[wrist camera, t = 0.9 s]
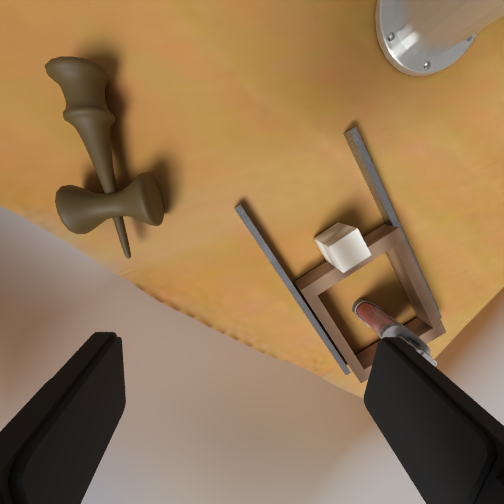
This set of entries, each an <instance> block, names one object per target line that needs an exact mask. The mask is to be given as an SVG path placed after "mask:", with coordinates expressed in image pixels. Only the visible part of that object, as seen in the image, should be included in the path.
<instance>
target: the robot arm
mask: <svg viewBox="0 0 504 504" xmlns="http://www.w3.org/2000/svg"><path fill="white" fill-rule="evenodd" d="M503 16H504V0H377V4H376V11H375V26H376V32H377V38H378V41H379V44H380V47H381V49H382V51H383V53H384V55H385V57H386V58H387V60H388V61H389V62H390V63H391V64H392V65H393V66H394V67H395V68H396V69H398V70H399V71H400V72H403V73H405V74H407V75H411V76H417V77H419V76H428V75H431V74H435V73H437V72H439V71H441V70H443V69H445V68H447V67H448V66H450V65H451V64H453V63H454V62H456V61H457V60H458V59H459V58H460V57H461V56H462V55H463V54H464V53H465V51H466V50H467V49H468V47H469V46H470V45H471V43H472V41H473V40H474V38H475V36H476V34H477V32H479V31H480V30H482V29H483V28H485V27H487V26H488V25H490V24H491V23H493V22H495V21H496V20H498V19H499V18H501V17H503ZM125 403H126V398H125V382H124V367H123V352H122V339H121V337H117V335H116V333H114V332H95V333H94V334H93V335H92V336H91V337H90V338H89V339H88V340H87V341H86V342H85V343H84V344H83V345H82V346H81V347H80V349H79V350H78V351H77V352H76V353H75V354H74V355H73V356H72V357H71V358H70V359H69V360H68V362H67V363H66V364H65V365H64V366H63V367H62V368H61V369H60V370H59V371H58V372H57V374H56V375H55V376H54V377H53V378H51V379H50V380H49V381H48V382H46V383H45V385H44V386H43V387H42V388H41V389H40V390H39V391H38V392H37V393H36V394H35V395H34V396H33V398H31V399H30V401H29V402H28V403H27V404H26V405H25V406H24V407H23V408H22V409H21V410H20V411H19V412H18V413H17V414H16V416H15V417H14V418H13V419H12V420H11V421H10V422H9V423H8V424H7V425H6V426H5V427H4V428H3V430H2V431H1V432H0V504H81V502H82V499H83V497H84V495H85V493H86V491H87V489H88V486H89V484H90V482H91V480H92V478H93V476H94V474H95V472H96V469H97V467H98V465H99V463H100V461H101V459H102V457H103V454H104V452H105V450H106V448H107V446H108V444H109V442H110V439H111V437H112V435H113V433H114V431H115V429H116V427H117V424H118V422H119V420H120V418H121V416H122V414H123V411H124V408H125ZM364 403H365V406H366V408H367V410H368V411H369V413H370V415H371V416H372V417H373V419H374V421H375V422H376V424H377V426H378V427H379V429H380V430H381V432H382V434H383V435H384V437H385V438H386V440H387V441H388V443H389V445H390V446H391V448H392V449H393V451H394V453H395V454H396V456H397V458H398V459H399V461H400V462H401V464H402V466H403V467H404V469H405V470H406V472H407V473H408V475H409V477H410V478H411V480H412V481H413V483H414V485H415V486H416V488H417V489H418V491H419V493H420V494H421V496H422V497H423V499H424V501H425V502H426V504H504V426H503V425H502V424H501V423H500V422H499V421H497V420H496V419H495V418H494V417H493V416H491V415H490V414H489V413H488V412H487V411H486V410H485V409H483V408H482V407H481V406H480V405H479V404H478V403H477V402H475V401H474V400H473V399H472V398H471V397H470V396H468V395H467V394H466V393H465V392H464V391H463V390H461V389H460V388H459V387H458V386H457V385H456V384H454V383H453V382H452V381H451V380H450V379H449V378H448V377H446V376H445V375H444V374H443V373H442V372H441V371H439V370H438V369H437V368H436V367H435V366H434V365H433V364H431V363H430V362H429V361H428V360H427V359H426V358H424V357H423V356H422V355H421V354H420V353H419V352H418V351H416V350H415V349H414V348H413V347H412V346H411V345H409V344H408V343H407V342H406V341H405V340H404V339H402V338H400V337H383V338H382V340H381V341H379V342H378V345H377V349H376V353H375V356H374V360H373V364H372V368H371V371H370V375H369V379H368V383H367V387H366V390H365V394H364Z"/></svg>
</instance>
